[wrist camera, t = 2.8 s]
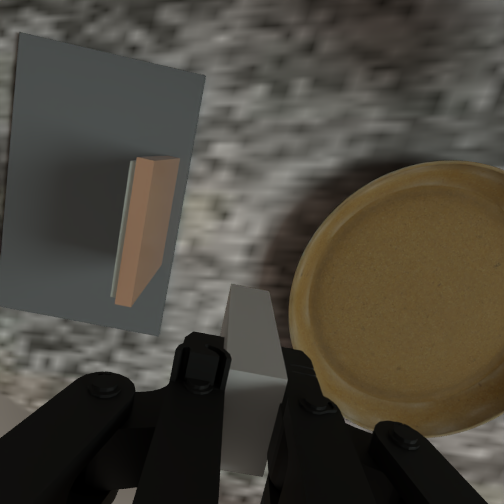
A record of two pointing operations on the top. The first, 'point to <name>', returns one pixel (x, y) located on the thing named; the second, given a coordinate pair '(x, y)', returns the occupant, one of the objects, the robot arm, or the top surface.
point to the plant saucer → (409, 299)
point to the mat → (87, 177)
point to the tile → (143, 225)
